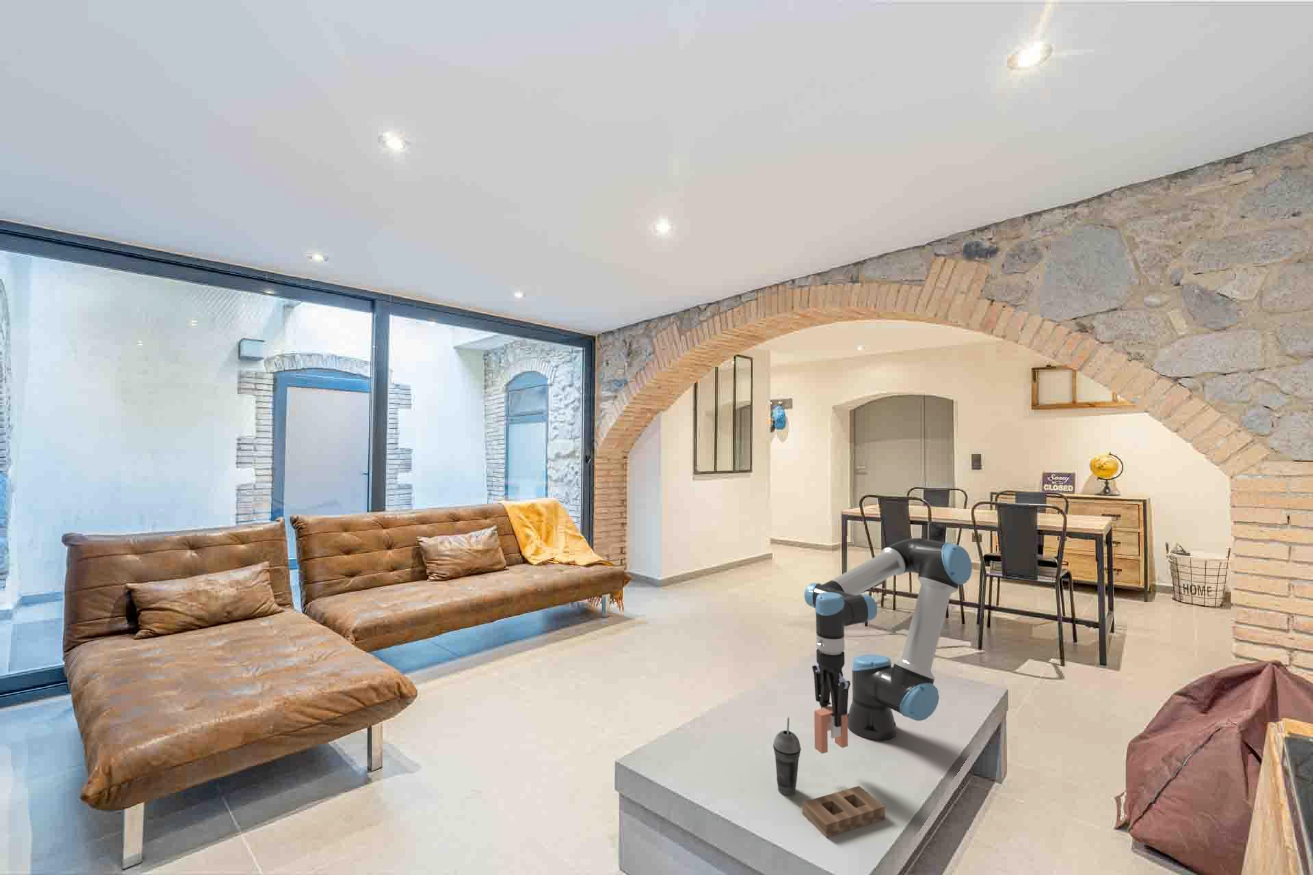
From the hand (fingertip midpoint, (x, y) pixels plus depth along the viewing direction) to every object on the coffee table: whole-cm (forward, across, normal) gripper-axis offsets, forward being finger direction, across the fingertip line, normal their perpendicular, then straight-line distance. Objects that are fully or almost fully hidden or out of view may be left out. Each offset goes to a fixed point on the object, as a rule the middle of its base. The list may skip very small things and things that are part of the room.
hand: (831, 733), depth 158 cm
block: (+4, 0, 0) cm, 4 cm away
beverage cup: (+12, +1, -16) cm, 20 cm away
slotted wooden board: (+12, +15, -9) cm, 21 cm away
